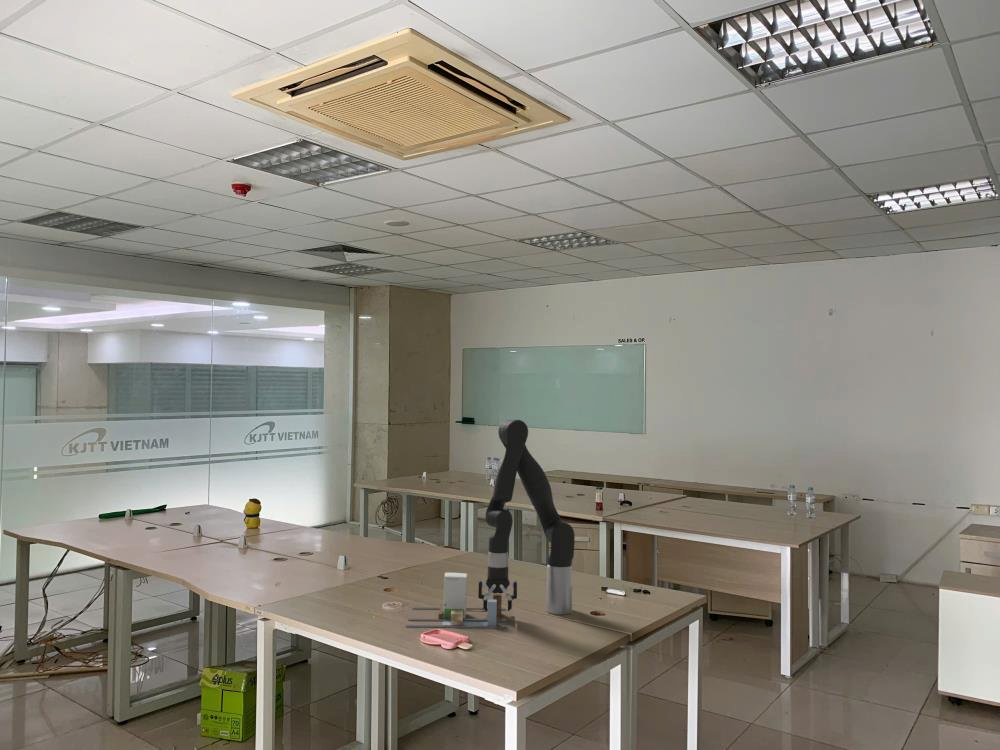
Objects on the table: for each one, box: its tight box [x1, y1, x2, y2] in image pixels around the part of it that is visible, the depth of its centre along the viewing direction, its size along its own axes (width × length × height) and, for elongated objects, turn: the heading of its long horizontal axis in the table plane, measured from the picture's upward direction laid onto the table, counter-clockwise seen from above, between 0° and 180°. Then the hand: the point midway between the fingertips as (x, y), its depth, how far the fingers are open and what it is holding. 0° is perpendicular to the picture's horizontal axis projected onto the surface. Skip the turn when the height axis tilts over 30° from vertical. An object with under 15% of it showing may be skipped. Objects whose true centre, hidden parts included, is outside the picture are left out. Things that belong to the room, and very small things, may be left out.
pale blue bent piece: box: [441, 598, 497, 626], centre depth 240 cm, size 18×5×9 cm, turn 91°
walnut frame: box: [438, 593, 503, 619], centre depth 250 cm, size 22×12×8 cm, turn 91°
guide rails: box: [405, 606, 508, 629], centre depth 246 cm, size 34×22×2 cm, turn 91°
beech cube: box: [451, 610, 464, 625], centre depth 239 cm, size 4×4×4 cm
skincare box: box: [442, 572, 468, 618], centre depth 249 cm, size 8×7×16 cm
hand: (497, 610), depth 250 cm, fingers open, 7 cm apart
